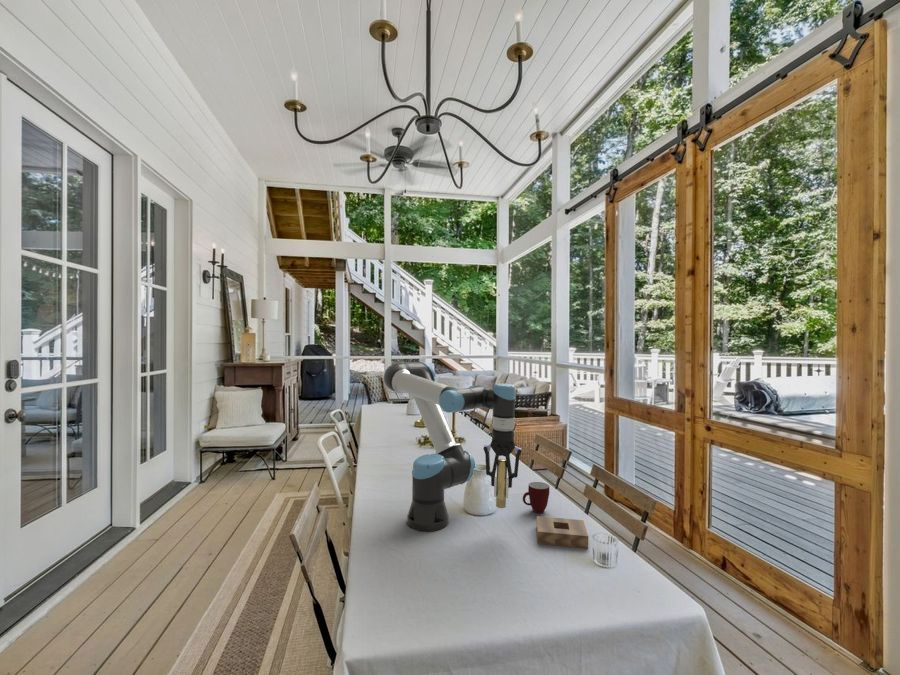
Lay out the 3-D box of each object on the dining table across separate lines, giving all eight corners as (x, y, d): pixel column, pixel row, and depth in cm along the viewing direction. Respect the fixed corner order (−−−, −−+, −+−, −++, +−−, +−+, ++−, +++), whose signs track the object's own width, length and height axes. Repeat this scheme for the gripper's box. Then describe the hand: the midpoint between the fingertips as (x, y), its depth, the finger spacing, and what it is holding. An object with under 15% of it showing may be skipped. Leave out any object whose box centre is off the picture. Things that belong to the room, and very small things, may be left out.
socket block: (537, 543, 138) (537, 531, 138) (536, 527, 150) (536, 516, 150) (588, 548, 135) (588, 536, 135) (583, 531, 147) (583, 520, 147)
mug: (528, 517, 158) (529, 490, 158) (518, 508, 166) (519, 483, 166) (553, 513, 162) (553, 487, 161) (542, 505, 169) (542, 480, 169)
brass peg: (495, 507, 144) (497, 461, 144) (496, 503, 148) (497, 458, 147) (505, 508, 144) (506, 462, 143) (506, 504, 147) (507, 459, 147)
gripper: (478, 429, 143) (476, 497, 143) (527, 432, 140) (525, 502, 140) (480, 424, 150) (478, 489, 151) (527, 427, 147) (525, 494, 148)
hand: (501, 495), depth 146 cm, fingers closed on brass peg, 3 cm apart
